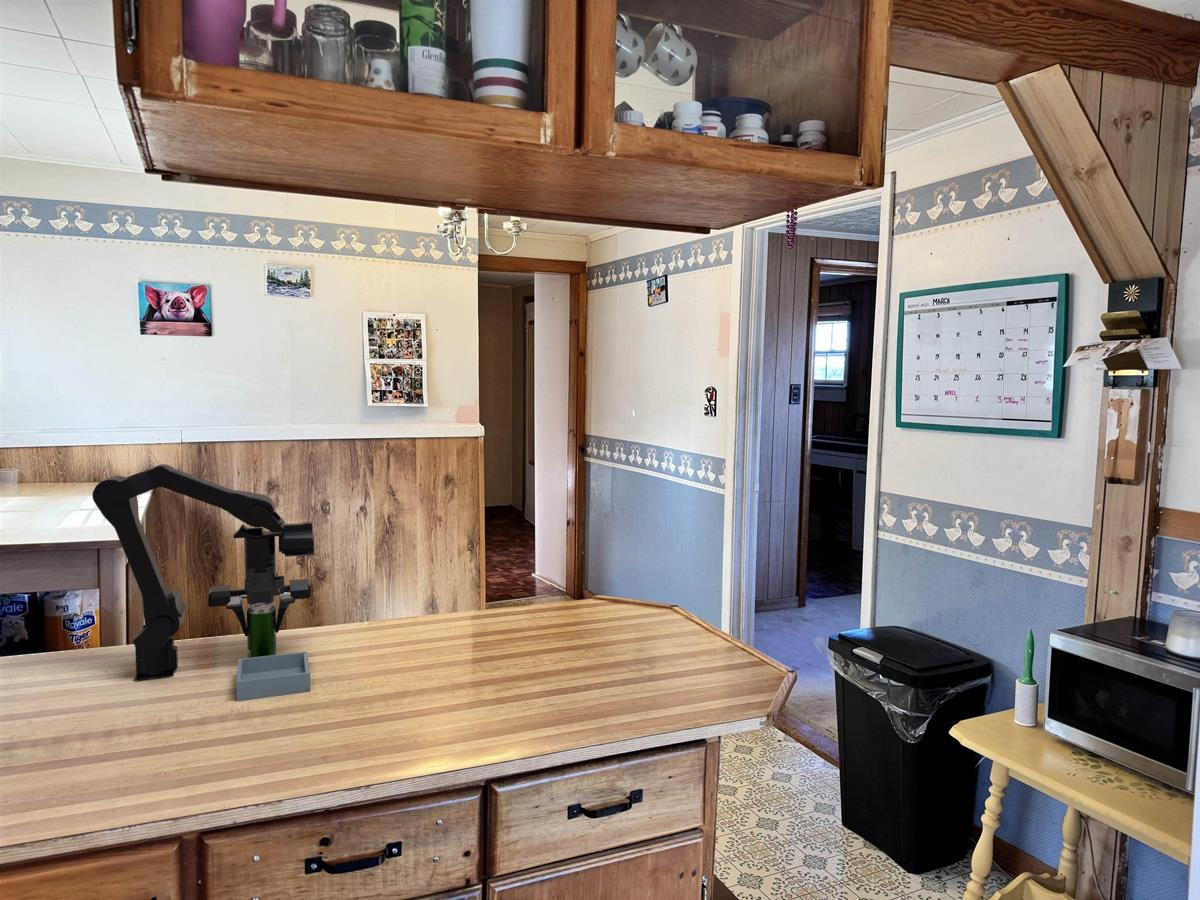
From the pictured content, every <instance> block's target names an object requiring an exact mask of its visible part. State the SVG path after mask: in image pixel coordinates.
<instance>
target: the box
mask: <svg viewBox="0 0 1200 900" xmlns="http://www.w3.org/2000/svg"><path fill="white" fill-rule="evenodd" d="M310 669H311V668H310V663H309V656H308V652H307V650H305V651H298V652H297V651H296V652H290V653H279V654H278V653H277V655H270V656H261V657H252V658H248V657H245V658H238V660H237V670H236V671H237V672H236V680H235V681H236V682H235V684H236V685H235V687H236V688H235V689H236V692H235V693H236V702H242V701H249V700H257V699H264V698H272V697H279V696H280V697H281V696H286V695H294V694H301V693H310V692H311V670H310Z"/></svg>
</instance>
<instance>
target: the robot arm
mask: <svg viewBox="0 0 1200 900" xmlns="http://www.w3.org/2000/svg"><path fill="white" fill-rule="evenodd" d="M159 488H163V489H167V490H170V491H172V492H175V493H176V494H180V495H183V496H186V497H188V498H191V499H194V500H197V501H200V502H202V503H205V504H208V505H212V506H214V507H216V508H220V509H222V510H224V511H226V512H227V513H229V514H230V515H232V516H233V517H234V518H236V519H237V520H239V521H240V522H243V523H245V524H246V525H248V526H250V527H248V526H246V525H245V524H241V526H240V527H239V528H238V529H237V530H236V531H235V532H234V533H233V536H232V537H233V538H234V539H243V545H244V546H243V551H244V552H243V553H244V583H243V585H244V588H238V589H232V584H227V585H226V584H225V585H212V587H211V588H210V589H209V591H208V596H207V599H208V600H207V602H208V605H207V606H208V607H210V608H217V607H225V609H226V610H232V612H233V613H234V614H235V616H236V618H237V619H238V621H239V624H240V626H241V629H242V631H243V635H244V636H245V637H247V615H246V610H245V609H246V608H245V604H244V599H246V603H247V604H248V605H254V604H256V603H272V602H273V603H274V602H275V597H276V596H278V600H277V601H278V602H277V603H278V604H277V608H276V634H278V633H279V631H280V629H281V625H282V622H283V619H284V616H285V613H286V611H287V610H288V607H289V606H290V605H291V604H295V603H296V600H304V599H305V600H306V599H310V598H312V587H311V581H310V580H309V579H307V578H301V579H300V578H299V579H289V584H285V575H277V571H276V569H277V568H276V567H277V566H276V565H277V563H276V537H278V552H279V553H281V554H282V555H284V557H287V558H288V557H289V558H290V557H305V556H306V557H309V556H315V540H314V539H315V537H314V536H315V535H313V534H314V533H313V532H314V531H313V522H312V521H304V522H302V523H301V522H300V523H286V522H285V521H284V519H283V518H282V517H281V516H280V514H279V513H278V512H277V511H276V505H275V503H274V501H273V499H272V498H271V496H270V497H269V496H268V495H266V494H261V493H257V492H251V491H244V490H243V491H242V490H236V489H232V488H231V489H230V488H228V487H226V486H222V485H221V484H220V485H219V484H217V483H215V482H212V481H209V480H206V479H203V478H201V477H199V476H196V475H193V474H191V473H187V472H184V471H181V470H179V469H176V468H174V467H172V466H170V465H169V464H165V463H164V464H163V463H160V464H158V465H156V466H154V467H152V468H150V469H147V470H143V471H141V472H138V473H135V474H132V475H129V476H122V475H114V476H111V477H109V478H106V479H104V480H102V481H100V482H99V483H98V484H96V486H95V487H94V488H93V491H92V500H93V502H94V504H95V505H96V507H97V508H98V510H99V511H100V513H101V515H102V516H103V517H104V518H105V519H106V521H107V522H108V523H109V524H110V525H111V526H112V527H113V528H114V530H115V532H116V535H117V538H118V540H119V542H120V545H121V547H122V550H123V552H124V554H125V557H126V559H127V562H128V564H129V567H130V569H131V571H132V574H133V576H134V580H135V581H136V584H137V586H138V589H139V591H140V594H141V597H142V615H143V618H144V625H143V626H142V627H141V628H140V630H139V631H138V633H137V634H136V635H135V638H133V640H132V644H133V646H134V648H135V651H134V652H135V670H136V671H135V672H136V673H135V675H134V678H133V679H135V680H138V681H143V680H142V679H146V680H152V679H151V678H154V679H161V677H163V678H170V676H171V677H173V676H174V674H175V671H177V669H178V667H179V654H178V653H179V649H178V645H175V638H174V637H173V636H174V635H176V634H177V632H178V631H179V629H180V627H181V625H182V623H183V622H184V619H185V614H186V613H185V611H186V609H187V608H188V606H187V605H186V603H185V602H184V601H183V599H182V594H181V593H182V592H181V590H180V589H176V590H175V591H172V590H171V589H170V588H169V587H168V586H167V585H166V583H165V580H164V577H163V575H162V573H161V571H160V568H159V566H158V564H157V560H156V558H155V555H154V553H153V551H152V548H151V546H150V543H149V540H148V538H147V536H146V533H145V531H144V528H143V525H142V523H141V520H140V516H139V515H140V514H139V501H138V496H141V495H143V494H145V493H147V492H150V491H152V490H155V489H159ZM264 529H265V530H264ZM135 680H134V681H135Z"/></svg>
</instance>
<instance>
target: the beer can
mask: <svg viewBox="0 0 1200 900" xmlns="http://www.w3.org/2000/svg"><path fill="white" fill-rule="evenodd" d="M276 618H277V608H276V607H275V603H274V601H273V602H272V603H256V604H254V605H250V604H248V605H247V610H246V622H247V636H246V637H247V638H246V639H247V641H246V643H247V644H246V645H247V658H252V657H261V656H270V655H278V653H277V650H278V649H277V633H276Z"/></svg>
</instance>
